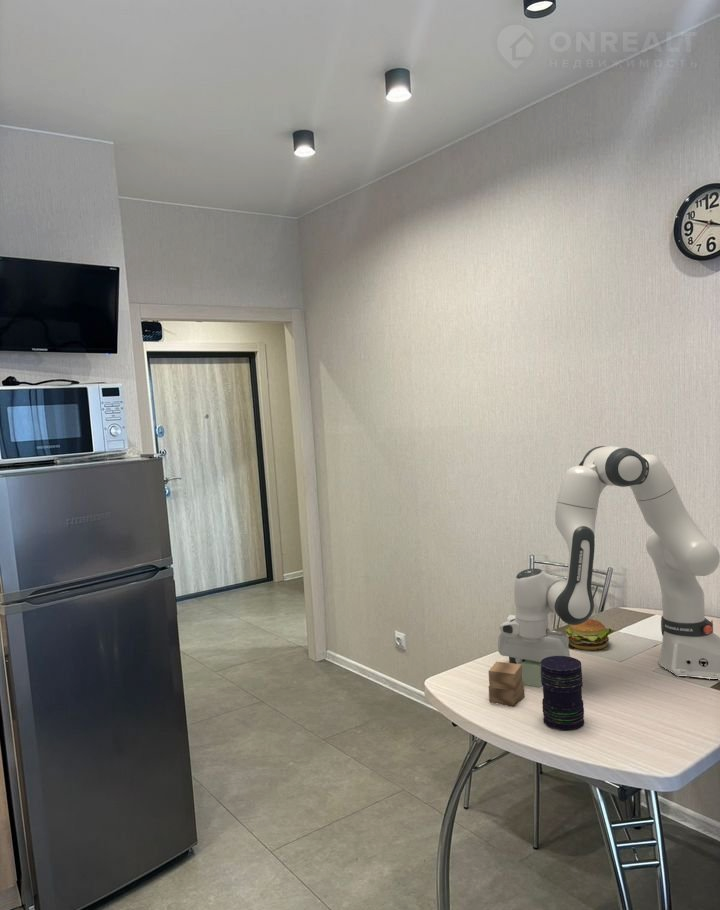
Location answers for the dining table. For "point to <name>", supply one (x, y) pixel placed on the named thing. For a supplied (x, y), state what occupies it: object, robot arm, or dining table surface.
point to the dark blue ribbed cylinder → (562, 693)
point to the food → (588, 635)
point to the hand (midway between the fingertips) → (534, 675)
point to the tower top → (505, 676)
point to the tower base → (507, 695)
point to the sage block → (531, 673)
